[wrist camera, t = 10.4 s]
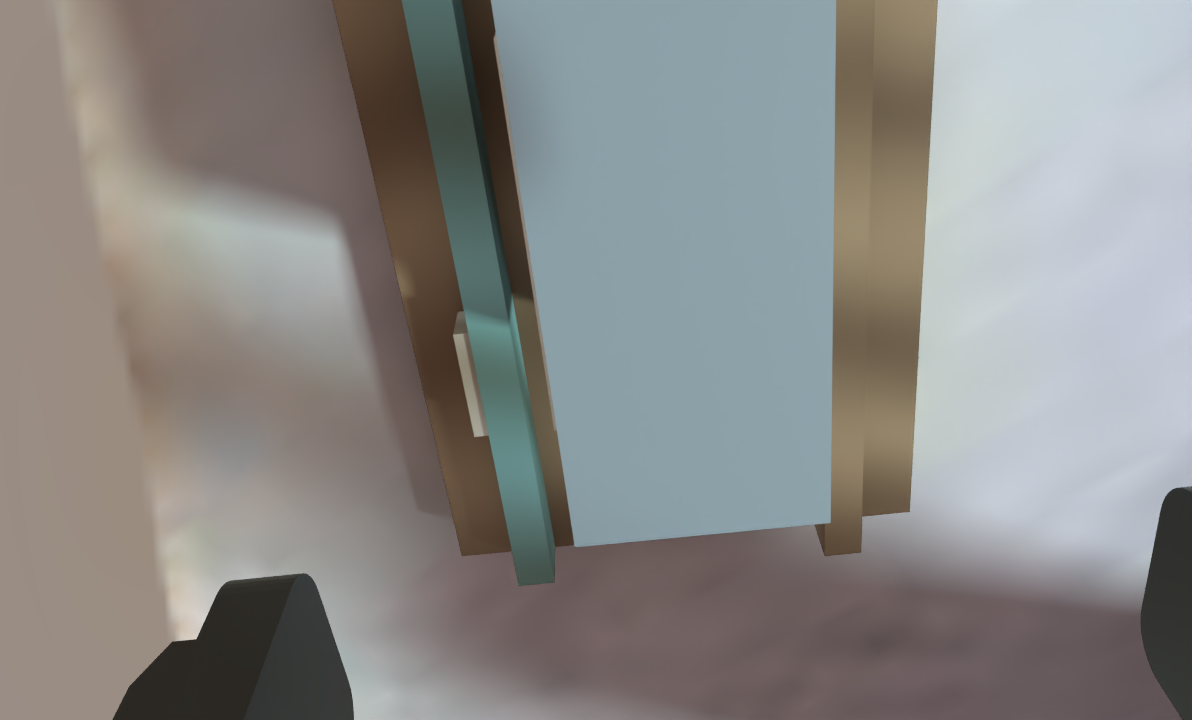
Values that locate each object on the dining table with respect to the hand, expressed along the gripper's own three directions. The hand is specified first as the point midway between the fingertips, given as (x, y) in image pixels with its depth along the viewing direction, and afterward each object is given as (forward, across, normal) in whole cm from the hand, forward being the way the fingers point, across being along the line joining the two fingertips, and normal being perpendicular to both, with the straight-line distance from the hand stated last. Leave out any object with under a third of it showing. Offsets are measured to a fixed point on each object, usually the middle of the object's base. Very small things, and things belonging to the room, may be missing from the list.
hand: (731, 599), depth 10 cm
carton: (+16, 0, 0) cm, 16 cm away
